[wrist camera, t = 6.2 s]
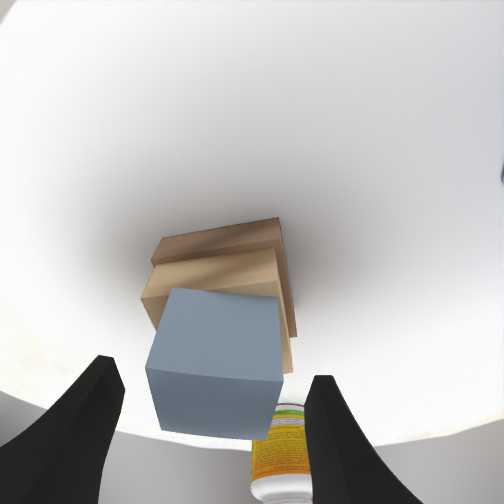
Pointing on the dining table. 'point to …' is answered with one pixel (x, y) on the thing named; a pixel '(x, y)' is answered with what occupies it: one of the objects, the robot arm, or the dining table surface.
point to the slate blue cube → (216, 364)
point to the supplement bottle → (282, 460)
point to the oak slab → (221, 284)
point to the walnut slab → (231, 250)
